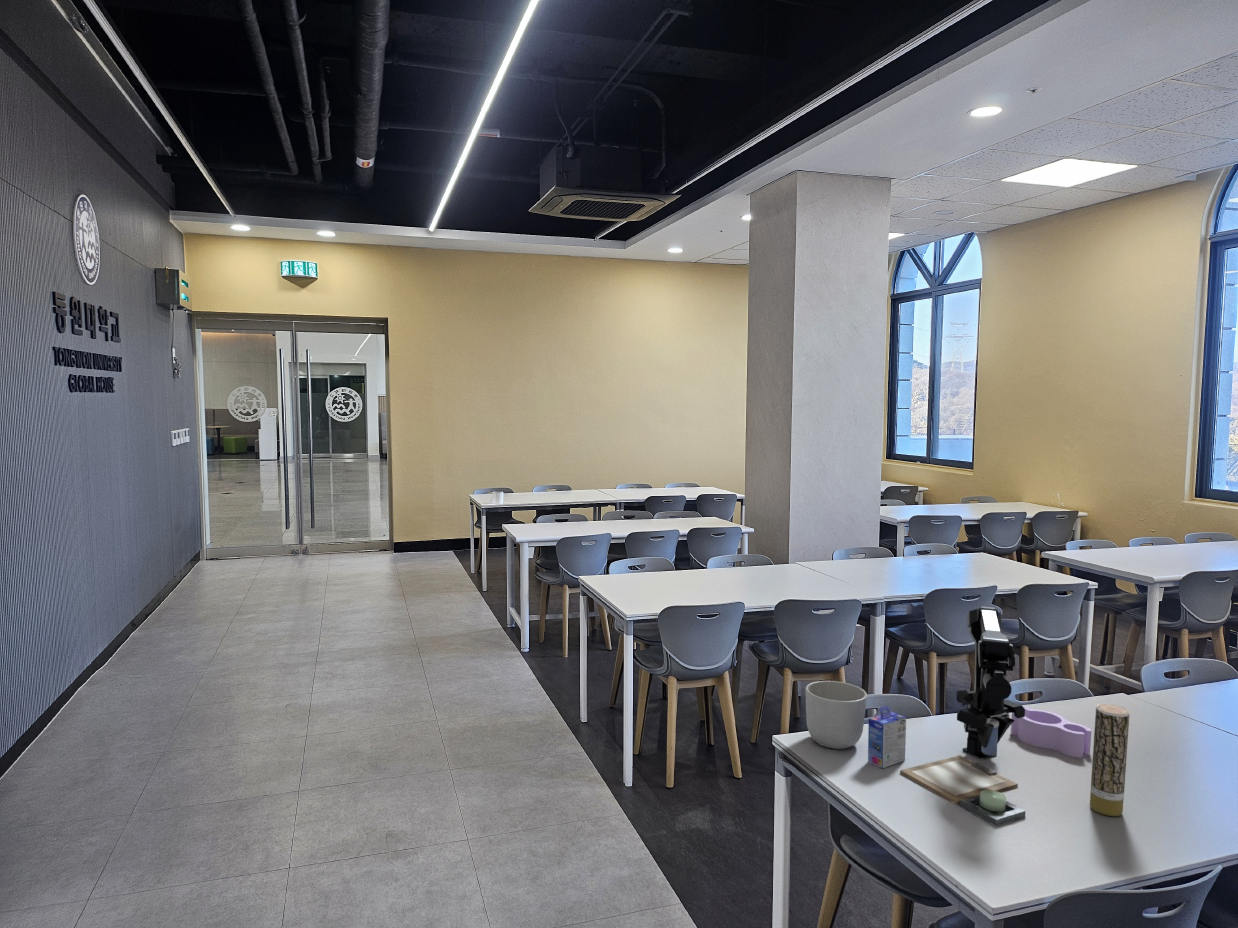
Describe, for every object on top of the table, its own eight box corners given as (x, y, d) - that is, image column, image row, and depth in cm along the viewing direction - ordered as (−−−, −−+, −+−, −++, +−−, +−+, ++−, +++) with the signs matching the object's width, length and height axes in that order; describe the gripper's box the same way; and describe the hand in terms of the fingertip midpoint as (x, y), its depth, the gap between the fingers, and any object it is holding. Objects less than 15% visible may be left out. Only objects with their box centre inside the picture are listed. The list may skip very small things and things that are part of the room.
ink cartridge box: (889, 753, 221) (891, 702, 220) (906, 760, 216) (908, 708, 215) (865, 761, 215) (868, 709, 214) (882, 769, 211) (885, 716, 210)
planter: (813, 726, 238) (815, 676, 237) (871, 739, 230) (873, 687, 229) (795, 746, 224) (797, 693, 223) (856, 760, 215) (858, 706, 214)
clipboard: (959, 758, 218) (959, 753, 218) (1017, 786, 202) (1017, 781, 202) (900, 772, 209) (900, 767, 208) (956, 804, 192) (956, 798, 192)
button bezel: (988, 797, 196) (988, 791, 196) (1025, 816, 187) (1025, 810, 187) (960, 806, 192) (960, 800, 191) (996, 825, 183) (996, 819, 182)
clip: (1097, 751, 225) (1098, 727, 225) (1074, 761, 218) (1076, 737, 218) (1028, 727, 242) (1029, 704, 241) (1005, 735, 235) (1006, 712, 234)
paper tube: (1122, 820, 186) (1129, 716, 185) (1089, 812, 190) (1095, 710, 188) (1122, 808, 192) (1129, 707, 190) (1089, 800, 196) (1096, 701, 194)
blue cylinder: (987, 748, 207) (989, 716, 206) (1000, 754, 203) (1002, 722, 202) (977, 751, 205) (979, 719, 204) (990, 757, 201) (992, 724, 201)
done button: (990, 797, 193) (991, 787, 193) (1010, 808, 188) (1011, 798, 188) (974, 802, 190) (974, 792, 190) (994, 813, 185) (995, 802, 185)
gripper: (990, 671, 214) (987, 727, 215) (941, 681, 206) (938, 739, 207) (1028, 685, 204) (1024, 744, 205) (977, 695, 196) (974, 757, 197)
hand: (989, 745), depth 204 cm, fingers closed on blue cylinder, 4 cm apart
